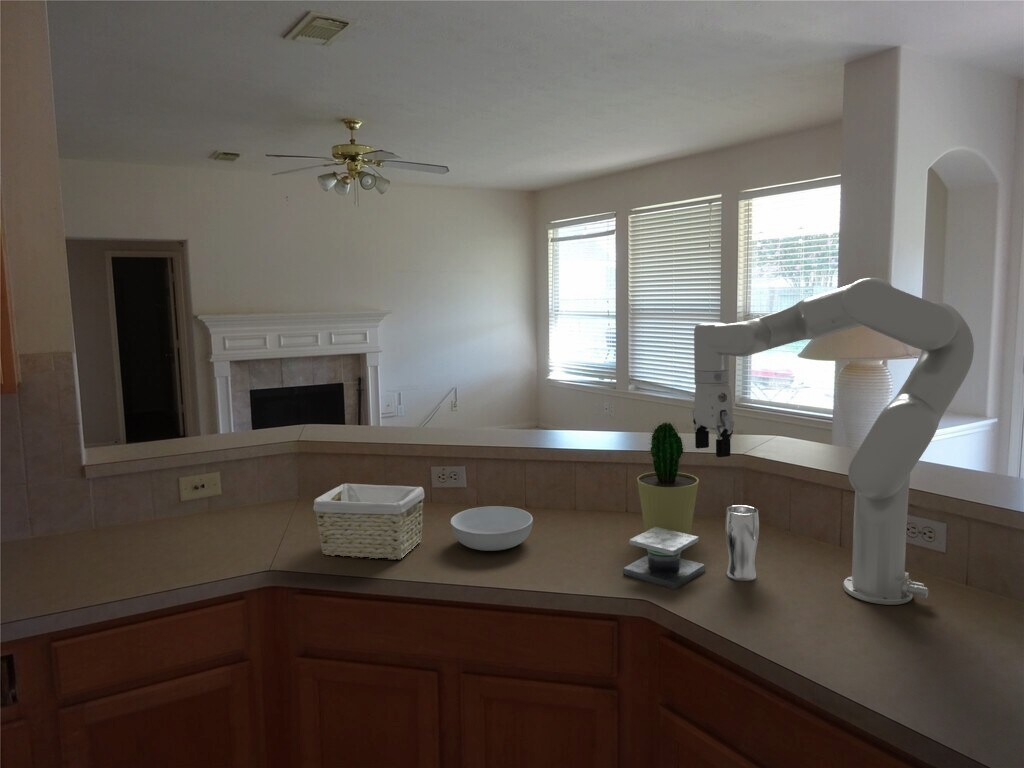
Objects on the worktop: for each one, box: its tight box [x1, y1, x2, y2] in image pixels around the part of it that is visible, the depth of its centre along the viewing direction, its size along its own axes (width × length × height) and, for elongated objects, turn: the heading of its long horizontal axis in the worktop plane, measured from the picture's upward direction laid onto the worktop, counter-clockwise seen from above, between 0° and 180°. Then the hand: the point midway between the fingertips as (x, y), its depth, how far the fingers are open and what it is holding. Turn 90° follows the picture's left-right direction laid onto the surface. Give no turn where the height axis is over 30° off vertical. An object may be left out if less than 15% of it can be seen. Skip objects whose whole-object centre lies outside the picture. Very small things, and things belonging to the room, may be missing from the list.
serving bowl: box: [450, 505, 534, 552], centre depth 179 cm, size 21×21×7 cm
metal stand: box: [622, 527, 706, 591], centre depth 158 cm, size 13×13×8 cm
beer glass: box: [724, 504, 760, 582], centre depth 154 cm, size 7×7×15 cm
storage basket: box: [313, 483, 425, 560], centre depth 178 cm, size 24×16×15 cm
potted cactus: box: [636, 421, 700, 535], centre depth 181 cm, size 15×15×30 cm
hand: (712, 452), depth 161 cm, fingers open, 9 cm apart
